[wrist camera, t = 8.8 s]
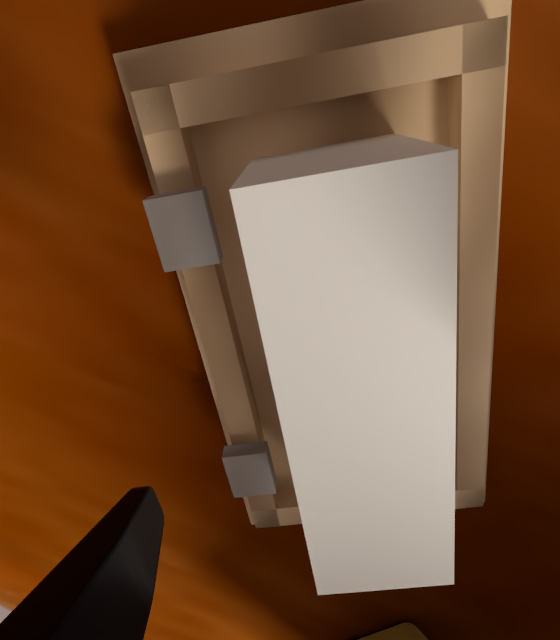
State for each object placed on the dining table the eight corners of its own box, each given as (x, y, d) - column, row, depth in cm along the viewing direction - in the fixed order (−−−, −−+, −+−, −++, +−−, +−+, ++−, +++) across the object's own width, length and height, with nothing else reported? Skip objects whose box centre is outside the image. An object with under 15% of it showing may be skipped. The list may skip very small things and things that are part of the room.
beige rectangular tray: (495, -21, 11) (549, -55, 9) (475, 483, 19) (501, 536, 17) (125, 57, 12) (85, 46, 10) (252, 505, 20) (247, 559, 17)
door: (394, 133, 12) (458, 149, 7) (411, 458, 17) (454, 584, 12) (252, 159, 12) (229, 189, 8) (311, 469, 17) (317, 595, 13)
